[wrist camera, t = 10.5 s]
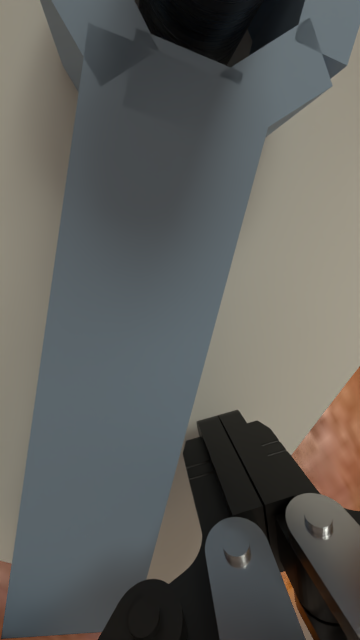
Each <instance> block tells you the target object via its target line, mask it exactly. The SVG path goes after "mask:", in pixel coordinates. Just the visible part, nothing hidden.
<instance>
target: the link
mask: <svg viewBox="0 0 360 640" xmlns="http://www.w3.org/2000/svg"><path fill="white" fill-rule="evenodd" d="M40 2H41V5H42V8H43V11H44V14H45V17H46V19H47V22H48V25H49V28H50V31H51V34H52V37H53V39H54V42H55V45H56V48H57V51H58V54H59V57H60V59H61V62H62V65H63V67H64V69H65V70H66V72H67V74H68V75H69V77H70V79H71V81H72V82H73V84H74V86H75V87H76V89H77V91H78V92H79V93H78V100H77V107H76V114H75V121H74V128H73V135H72V142H71V149H70V157H69V164H68V171H67V178H66V185H65V192H64V199H63V206H62V213H61V220H60V227H59V234H58V241H57V248H56V255H55V262H54V270H53V277H52V284H51V291H50V298H49V305H48V312H47V319H46V326H45V333H44V340H43V347H42V354H41V361H40V368H39V375H38V382H37V390H36V397H35V404H34V411H33V418H32V425H31V432H30V439H29V446H28V453H27V460H26V467H25V474H24V481H23V488H22V495H21V503H20V510H19V517H18V524H17V531H16V538H15V545H14V552H13V559H12V566H11V573H10V580H9V587H8V594H7V601H6V608H5V615H4V623H3V630H2V637H1V639H6V638H21V637H35V636H50V635H65V634H80V633H95V632H102V631H103V630H104V628H105V626H106V624H107V622H108V621H109V619H110V617H111V615H112V613H113V612H114V610H115V608H116V606H117V604H118V603H119V601H120V600H121V598H122V597H123V596H124V594H125V593H126V592H127V591H128V590H129V589H130V588H131V587H133V586H134V585H136V584H137V583H139V582H141V581H144V580H146V579H147V575H148V571H149V568H150V564H151V560H152V557H153V553H154V549H155V545H156V542H157V538H158V534H159V531H160V527H161V523H162V519H163V516H164V512H165V508H166V505H167V501H168V497H169V493H170V490H171V486H172V482H173V479H174V475H175V471H176V467H177V464H178V460H179V456H180V453H181V449H182V445H183V441H184V438H185V434H186V430H187V427H188V423H189V419H190V415H191V412H192V408H193V404H194V401H195V397H196V393H197V389H198V386H199V382H200V378H201V375H202V371H203V367H204V364H205V360H206V356H207V352H208V349H209V345H210V341H211V338H212V334H213V330H214V326H215V323H216V319H217V315H218V312H219V308H220V304H221V300H222V297H223V293H224V289H225V286H226V282H227V278H228V274H229V271H230V267H231V263H232V260H233V256H234V252H235V248H236V245H237V241H238V237H239V234H240V230H241V226H242V222H243V219H244V215H245V211H246V208H247V204H248V200H249V196H250V193H251V189H252V185H253V182H254V178H255V174H256V171H257V167H258V163H259V159H260V156H261V152H262V148H263V145H264V141H265V137H267V136H268V135H269V134H271V133H272V132H273V131H275V130H276V129H277V128H279V127H280V126H281V125H282V124H284V123H285V122H286V121H288V120H289V119H290V118H292V117H293V116H294V115H295V114H297V113H298V112H299V111H301V110H302V109H303V108H305V107H306V106H307V105H309V104H310V103H311V102H312V101H314V100H315V99H316V98H318V97H319V96H320V95H322V94H323V93H324V92H325V91H327V90H328V89H329V88H331V87H332V86H333V85H332V82H331V78H332V77H334V76H335V75H336V74H337V73H339V72H340V71H341V70H342V69H344V68H345V67H346V66H347V65H348V61H349V58H350V55H351V52H352V49H353V45H354V42H355V39H356V36H357V32H358V29H359V26H360V0H264V1H263V2H262V4H261V6H260V8H259V10H258V11H257V13H256V15H255V17H254V18H253V20H252V22H251V24H250V25H249V27H248V31H249V34H250V36H251V39H252V45H251V50H250V54H249V56H248V57H246V58H245V59H243V60H242V61H240V62H239V63H237V64H235V65H234V66H232V67H228V66H226V65H224V64H221V63H219V62H217V61H214V60H212V59H209V58H207V57H205V56H202V55H200V54H197V53H195V52H193V51H190V50H188V49H186V48H183V47H181V46H178V45H176V44H174V43H171V42H169V41H167V40H164V39H162V38H159V37H157V36H155V35H152V34H151V33H150V31H149V29H148V27H147V25H146V23H145V21H144V19H143V17H142V15H141V13H140V11H139V9H138V7H137V5H136V3H135V1H134V0H40Z"/></svg>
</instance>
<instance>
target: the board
mask: <svg viewBox="0 0 360 640" xmlns="http://www.w3.org/2000/svg"><path fill="white" fill-rule="evenodd" d="M134 1H135V3H136V5H137V7H138V9H139V0H134ZM251 45H252V39H251V36H250V34H249V31H248V29H247V31H246V33H245V34H244V36H243V38H242V40H241V41H240V43H239V45H238V47H237V48H236V50H235V52H234V54H233V55H232V57H231V59H230V61H229V63H228V64H227V66H228V67H232V66H234V65H235V64H237V63H239V62H240V61H242V60H243V59H245V58H246V57H248V56H249V54H250V50H251ZM331 82H332V85H333V86H332V87H331V88H329V89H328V90H327V91H325V92H324V93H323V94H322V95H320V96H319V97H318V98H316V99H315V100H314V101H312V102H311V103H310V104H309V105H307V106H306V107H305V108H303V109H302V110H301V111H299V112H298V113H297V114H295V115H294V116H293V117H292V118H290V119H289V120H288V121H286V122H285V123H284V124H282V125H281V126H280V127H279V128H277V129H276V130H275V131H273V132H272V133H271V134H269V135H268V136H267V137H265V141H264V145H263V148H262V152H261V156H260V159H259V163H258V167H257V171H256V174H255V178H254V182H253V185H252V189H251V193H250V196H249V200H248V204H247V208H246V211H245V215H244V219H243V222H242V226H241V230H240V234H239V237H238V241H237V245H236V248H235V252H234V256H233V260H232V263H231V267H230V271H229V274H228V278H227V282H226V286H225V289H224V293H223V297H222V300H221V304H220V308H219V312H218V315H217V319H216V323H215V326H214V330H213V334H212V338H211V341H210V345H209V349H208V352H207V356H206V360H205V364H204V367H203V371H202V375H201V378H200V382H199V386H198V389H197V393H196V397H195V401H194V404H193V408H192V412H191V415H190V419H189V423H188V427H187V430H186V434H185V438H184V441H183V445H182V449H181V453H180V456H179V460H178V464H177V467H176V471H175V475H174V479H173V482H172V486H171V490H170V493H169V497H168V501H167V505H166V508H165V512H164V516H163V519H162V523H161V527H160V531H159V534H158V538H157V542H156V545H155V549H154V553H153V557H152V560H151V564H150V568H149V571H148V575H147V579H159V580H162V581H165V582H166V583H168V584H169V583H171V582H172V581H173V580H174V579H176V578H177V577H178V576H179V575H181V574H182V573H183V572H184V571H185V570H186V569H188V568H189V567H190V565H191V564H192V563H193V562H194V560H195V558H196V557H197V555H198V553H199V550H200V547H201V542H202V532H201V528H200V524H199V520H198V516H197V512H196V508H195V504H194V500H193V496H192V492H191V487H190V483H189V479H188V475H187V470H186V466H185V462H184V457H183V450H184V446H185V442H186V441H187V440H190V439H194V438H197V437H199V433H198V428H197V421H199V420H202V419H206V418H210V417H213V416H217V415H220V414H224V413H227V412H231V411H234V410H239V412H240V413H241V415H242V416H243V418H244V419H245V421H246V422H247V423H250V422H253V421H257V420H258V421H259V422H261V423H262V424H264V425H266V426H267V427H269V428H270V429H271V430H272V431H273V433H274V434H275V435H276V437H277V438H278V439H279V442H281V443H282V445H283V446H284V447H285V448H286V451H288V452H289V454H290V455H292V453H293V452H294V451H295V450H296V448H297V447H298V446H299V444H300V443H301V442H302V440H303V439H304V438H305V436H306V435H307V434H308V433H309V431H310V430H311V429H312V427H313V426H314V425H315V423H316V422H317V421H318V420H319V418H320V417H321V416H322V414H323V413H324V412H325V410H326V409H327V408H328V407H329V405H330V404H331V403H332V401H333V400H334V399H335V397H336V396H337V395H338V393H339V392H340V391H341V390H342V388H343V387H344V386H345V384H346V383H347V382H348V380H349V379H350V378H351V377H352V375H353V374H354V373H355V371H356V370H357V369H358V367H359V366H360V26H359V29H358V32H357V36H356V39H355V42H354V45H353V49H352V52H351V55H350V58H349V61H348V65H347V66H346V67H345V68H344V69H342V70H341V71H340V72H339V73H337V74H336V75H335V76H334V77H332V78H331ZM78 93H79V92H78V91H77V89H76V87H75V86H74V84H73V82H72V81H71V79H70V77H69V75H68V74H67V72H66V70H65V69H64V67H63V65H62V62H61V59H60V57H59V54H58V51H57V48H56V45H55V42H54V39H53V37H52V34H51V31H50V28H49V25H48V22H47V19H46V17H45V14H44V11H43V8H42V5H41V2H40V0H0V561H4V562H8V563H11V564H12V559H13V552H14V545H15V538H16V531H17V524H18V517H19V510H20V503H21V495H22V488H23V481H24V474H25V467H26V460H27V453H28V446H29V439H30V432H31V425H32V418H33V411H34V404H35V397H36V390H37V382H38V375H39V368H40V361H41V354H42V347H43V340H44V333H45V326H46V319H47V312H48V305H49V298H50V291H51V284H52V277H53V270H54V262H55V255H56V248H57V241H58V234H59V227H60V220H61V213H62V206H63V199H64V192H65V185H66V178H67V171H68V164H69V157H70V149H71V142H72V135H73V128H74V121H75V114H76V107H77V100H78ZM147 579H146V580H147Z"/></svg>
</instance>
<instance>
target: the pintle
mask: <svg viewBox="0 0 360 640" xmlns="http://www.w3.org/2000/svg"><path fill="white" fill-rule="evenodd" d="M263 1H264V0H139V11H140V13H141V15H142V17H143V19H144V21H145V23H146V25H147V27H148V29H149V31H150V33H151V34H152V35H155V36H157V37H159V38H162V39H164V40H167V41H169V42H171V43H174V44H176V45H178V46H181V47H183V48H186V49H188V50H190V51H193V52H195V53H197V54H200V55H202V56H205V57H207V58H209V59H212V60H214V61H217V62H219V63H221V64H224V65H226V66H227V64H228V63H229V61H230V59H231V57H232V55H233V54H234V52H235V50H236V48H237V47H238V45H239V43H240V41H241V40H242V38H243V36H244V34H245V33H246V31H247V29H248V27H249V25H250V24H251V22H252V20H253V18H254V17H255V15H256V13H257V11H258V10H259V8H260V6H261V4H262V2H263Z"/></svg>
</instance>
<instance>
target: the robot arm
mask: <svg viewBox="0 0 360 640" xmlns="http://www.w3.org/2000/svg"><path fill="white" fill-rule="evenodd" d="M197 428H198V433H199V437H197V438H194V439H190V440H187V441H186V442H185V446H184V450H183V457H184V462H185V466H186V470H187V475H188V479H189V483H190V487H191V492H192V496H193V500H194V504H195V508H196V512H197V516H198V520H199V524H200V528H201V532H202V542H201V547H200V550H199V553H198V555H197V557H196V558H195V560H194V562H193V563H192V564H191V565H190V567H189V568H188V569H186V570H185V571H184V572H183V573H182V574H181V575H179V576H178V577H177V578H176V579H174V580H173V581H172V582H171V583H169V584H168V583H166V582H165V581H162V580H159V579H147V580H144V581H141V582H139V583H137V584H136V585H134V586H133V587H131V588H130V589H129V590H128V591H127V592H126V593H125V594H124V596H123V597H122V598H121V600H120V601H119V603H118V604H117V606H116V608H115V610H114V612H113V613H112V615H111V617H110V619H109V621H108V622H107V624H106V626H105V628H104V630H103V631H102V633H101V635H100V637H99V639H98V640H306V639H305V637H304V634H303V631H302V629H301V626H300V624H299V621H298V619H297V616H296V613H295V611H294V608H293V605H292V603H291V600H290V597H289V595H288V592H287V590H286V587H285V584H284V582H283V579H282V576H281V574H280V572H283V571H285V572H286V574H287V576H288V578H289V580H290V582H291V584H292V586H293V589H294V597H295V602H296V606H297V608H298V610H299V613H300V615H301V617H302V619H303V621H304V622H305V624H306V626H307V628H308V630H309V632H310V634H311V636H312V638H313V640H360V511H353V510H348V509H345V508H343V507H342V506H341V505H340V504H339V503H337V502H336V501H334V500H333V499H331V498H329V497H327V496H324V495H321V494H320V493H319V492H318V491H317V489H316V488H315V487H314V485H313V484H312V483H311V482H310V480H309V479H308V478H307V476H306V475H305V474H304V472H303V471H302V470H301V468H300V467H299V466H298V464H297V463H296V462H295V460H294V459H293V458H292V456H291V455H290V454H289V452H288V451H286V448H285V447H284V446H283V445H282V443H281V442H279V439H278V438H277V437H276V435H275V434H274V433H273V431H272V430H271V429H270V428H269V427H267V426H266V425H264V424H262V423H261V422H259V421H258V420H257V421H253V422H250V423H247V422H246V421H245V419H244V418H243V416H242V415H241V413H240V412H239V410H234V411H231V412H227V413H224V414H220V415H217V416H213V417H210V418H206V419H202V420H199V421H197Z"/></svg>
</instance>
